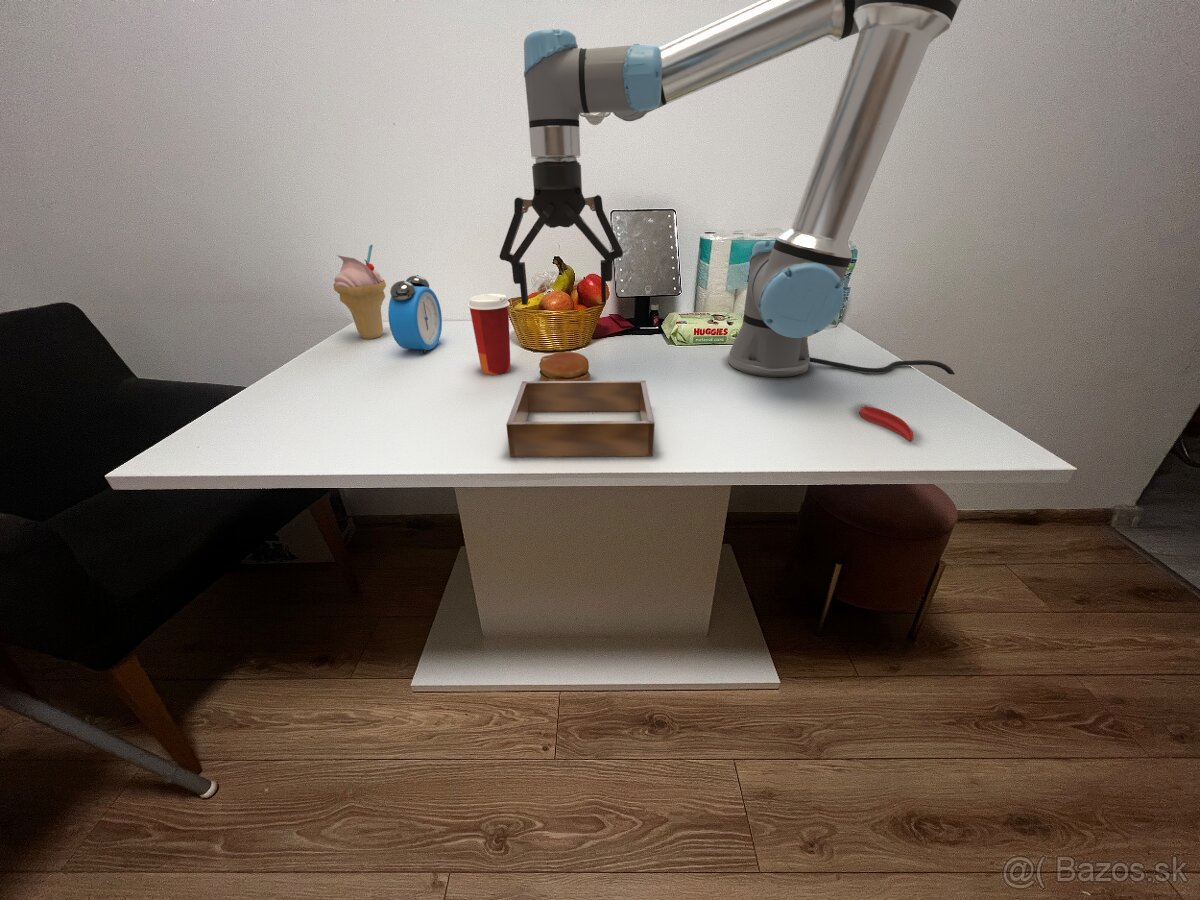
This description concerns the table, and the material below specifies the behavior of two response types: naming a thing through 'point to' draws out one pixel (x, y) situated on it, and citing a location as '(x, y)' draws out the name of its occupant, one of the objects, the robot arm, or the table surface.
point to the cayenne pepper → (887, 421)
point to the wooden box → (581, 434)
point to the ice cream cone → (362, 294)
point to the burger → (564, 367)
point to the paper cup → (491, 331)
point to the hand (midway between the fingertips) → (564, 302)
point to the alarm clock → (414, 314)
